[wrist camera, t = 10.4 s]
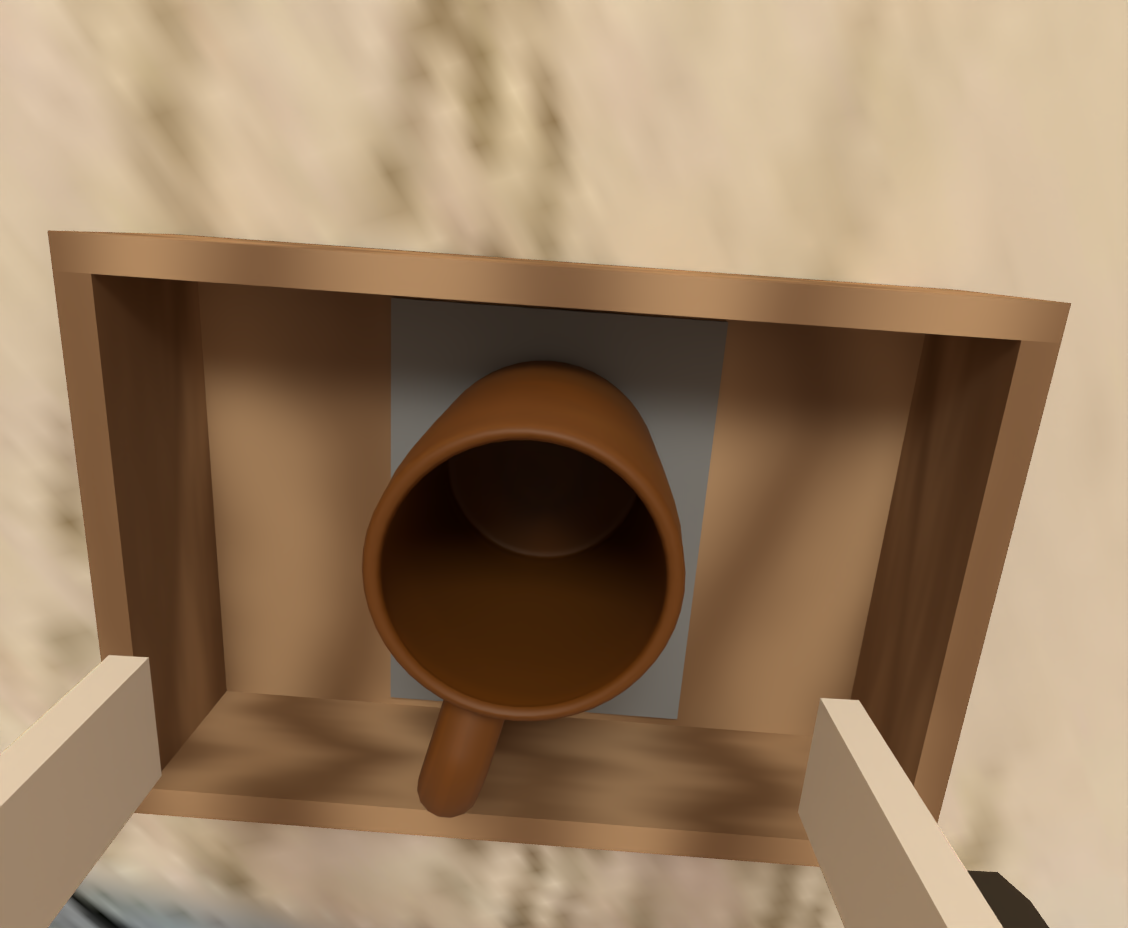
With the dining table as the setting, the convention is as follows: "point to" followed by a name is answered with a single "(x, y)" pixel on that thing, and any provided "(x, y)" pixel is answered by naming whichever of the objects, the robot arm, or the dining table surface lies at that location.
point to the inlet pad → (611, 350)
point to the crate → (363, 471)
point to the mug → (523, 562)
